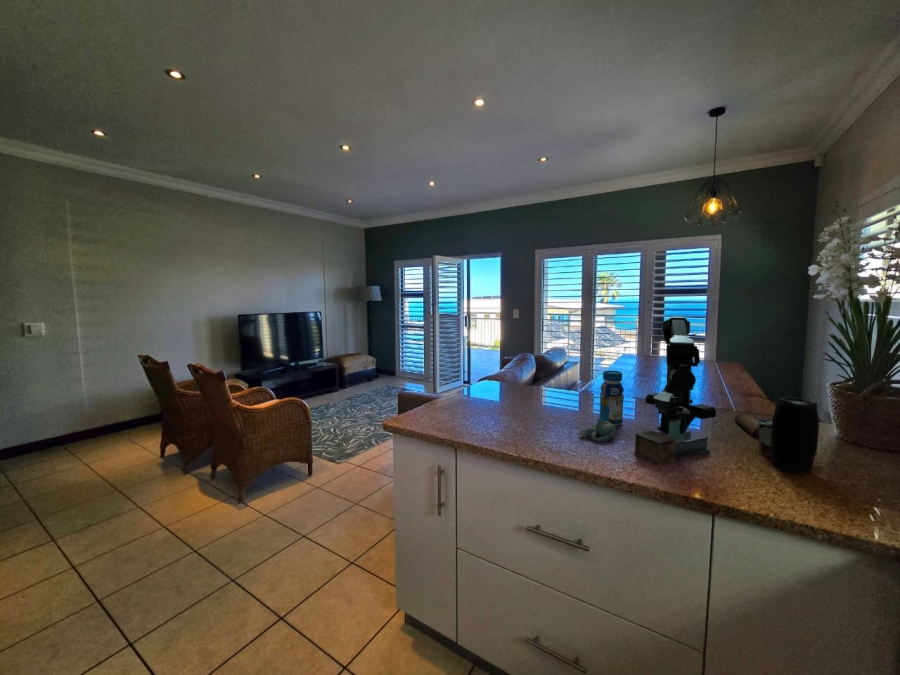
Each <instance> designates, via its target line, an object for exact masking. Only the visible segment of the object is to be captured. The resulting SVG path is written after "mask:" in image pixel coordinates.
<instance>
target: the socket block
mask: <svg viewBox="0 0 900 675" xmlns="http://www.w3.org/2000/svg"><path fill="white" fill-rule="evenodd" d="M675 440H676V439H674V438H671V437H668V436H667V435H666V434H662V433H659V432H656V431H654V430H650V431H645V432H640V433H635V448H634V456H636V457H638V458H640V459H643V460H645V461H648V462H649V461H650V462H649V463H652V464H654V465H656V466H662V465H665V464H670V463H674V462H676V461H675Z"/></svg>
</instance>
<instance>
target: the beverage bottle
mask: <svg viewBox="0 0 900 675" xmlns="http://www.w3.org/2000/svg"><path fill="white" fill-rule="evenodd" d="M602 379H603V382H602V383H601V386H600V393H599V400H600V401H599V419H601V420H602V421H609V422H610V423H612V424H613V425H614V426H615V427H616V425H617V426H621V425H622V424H623V422H624V421H623V415H624V399H625V396H624V391H625V389H624V387H623V385H622V383H621V382H622V381H623V372H622V371H619V370H608V369H607V370H603V372H602Z"/></svg>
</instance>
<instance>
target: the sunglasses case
mask: <svg viewBox="0 0 900 675" xmlns="http://www.w3.org/2000/svg"><path fill="white" fill-rule="evenodd" d="M757 421H758V419H755V418H753V417H751V416H748V415H746V414H745V415H744V414H737V415H736V416H735V417H734V422H735V423H736V424H737V425H739V426H740V427H742V428H743V429H744V430H745V432H747V433H748V434H750V435H751V436H752V437H753V438H754V437H756V438H755V439H757V438H759V437H758V429H757V428H756V427H755V425H756V423H757Z"/></svg>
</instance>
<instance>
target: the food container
mask: <svg viewBox="0 0 900 675" xmlns="http://www.w3.org/2000/svg"><path fill="white" fill-rule="evenodd" d="M772 418H773V417H772ZM772 418H769V417H763V418H759V419H757V423H756V425H755V427H756V428H757V429H758V437H759V439H758V449H759V450H758V452H760V453H761V454H760V453H759V454H760V455H762V454H766V455H765V456H772V454H771V431H772Z"/></svg>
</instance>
